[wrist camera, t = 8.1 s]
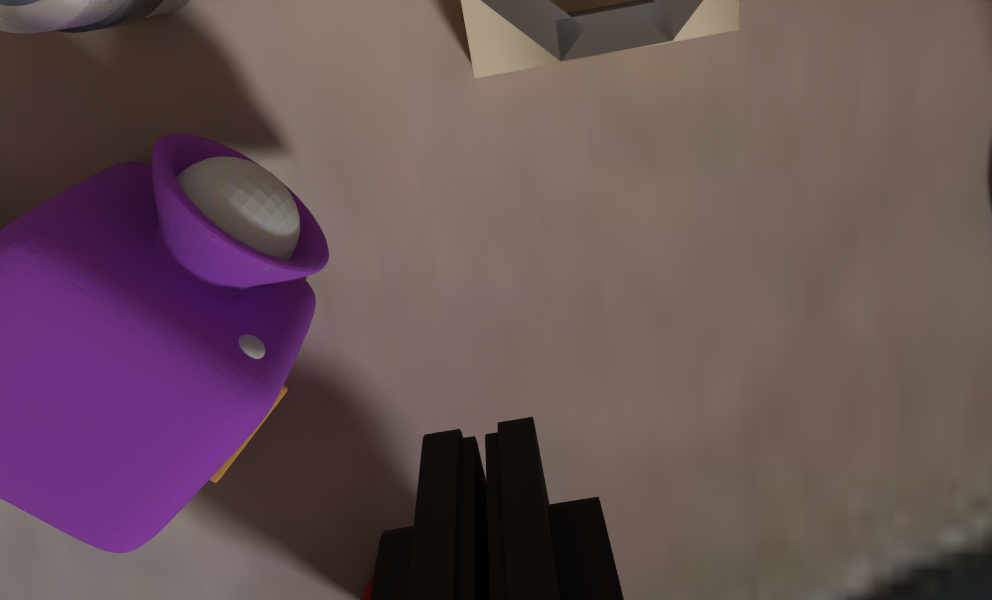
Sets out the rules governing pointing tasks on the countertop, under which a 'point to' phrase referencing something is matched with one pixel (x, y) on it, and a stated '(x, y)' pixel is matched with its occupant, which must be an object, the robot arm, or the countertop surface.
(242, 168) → the toy camera
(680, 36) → the mount
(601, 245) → the countertop surface
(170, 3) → the lens
